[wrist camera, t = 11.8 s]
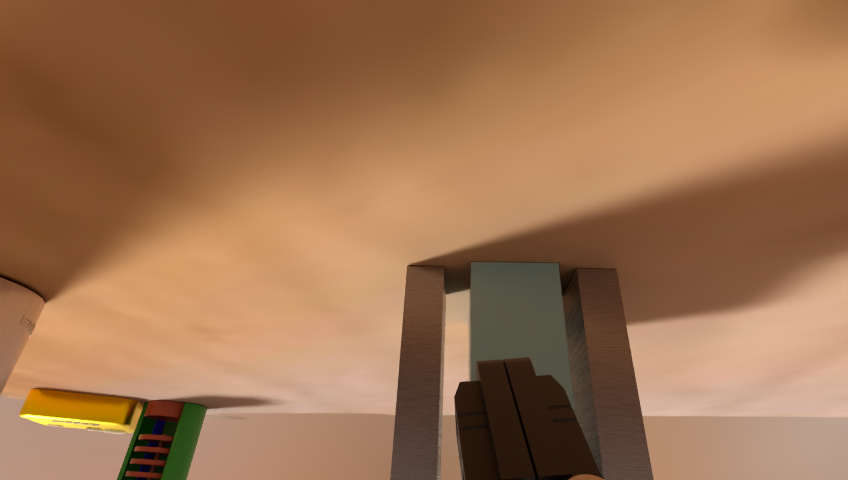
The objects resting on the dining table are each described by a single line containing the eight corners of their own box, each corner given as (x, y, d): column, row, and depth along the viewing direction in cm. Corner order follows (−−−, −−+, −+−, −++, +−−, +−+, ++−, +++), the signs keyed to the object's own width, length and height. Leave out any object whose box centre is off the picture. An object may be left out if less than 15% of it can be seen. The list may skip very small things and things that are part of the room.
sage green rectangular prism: (471, 261, 24) (470, 533, 18) (558, 263, 23) (588, 541, 17) (468, 337, 35) (467, 518, 29) (526, 339, 34) (538, 523, 28)
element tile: (138, 397, 73) (127, 428, 71) (147, 409, 85) (138, 436, 83) (27, 384, 68) (11, 418, 66) (53, 399, 80) (41, 427, 78)
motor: (167, 398, 70) (117, 554, 60) (219, 408, 76) (181, 550, 66) (136, 402, 75) (86, 545, 65) (187, 410, 81) (147, 543, 71)
